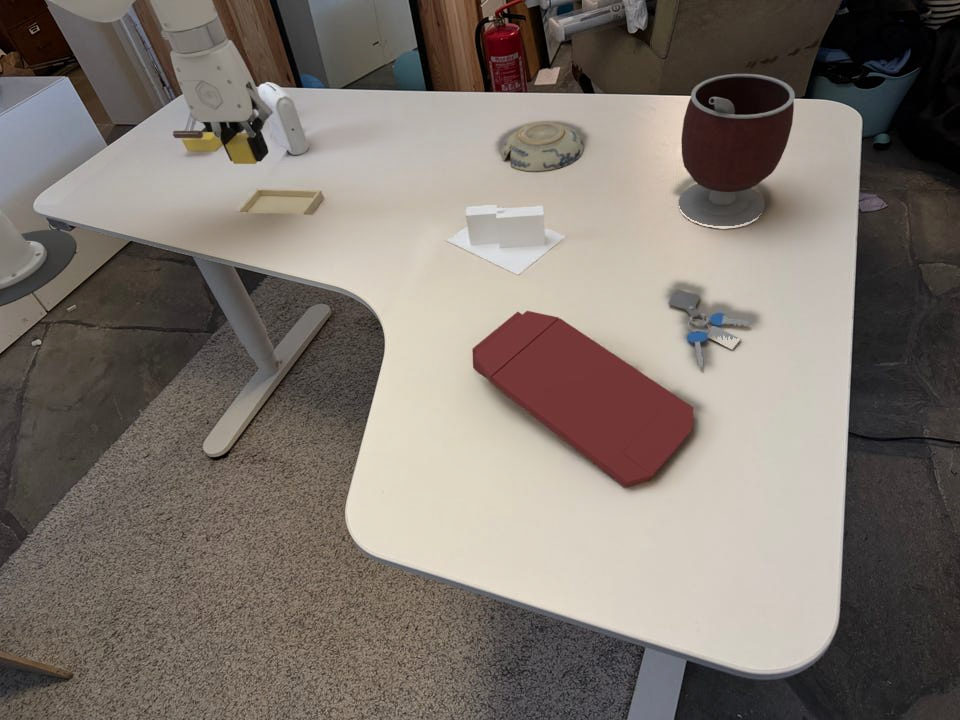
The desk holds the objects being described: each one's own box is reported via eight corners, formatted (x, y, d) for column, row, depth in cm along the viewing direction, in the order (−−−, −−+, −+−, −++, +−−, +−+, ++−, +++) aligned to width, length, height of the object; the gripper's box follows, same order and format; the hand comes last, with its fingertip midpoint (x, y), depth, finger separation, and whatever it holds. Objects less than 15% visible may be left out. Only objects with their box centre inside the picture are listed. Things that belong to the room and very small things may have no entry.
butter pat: (255, 164, 96) (247, 145, 93) (233, 163, 97) (225, 145, 94) (267, 151, 98) (259, 132, 96) (245, 151, 99) (237, 132, 97)
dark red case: (692, 437, 69) (526, 322, 79) (704, 414, 65) (528, 297, 75) (629, 510, 63) (461, 377, 74) (638, 490, 60) (460, 352, 70)
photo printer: (312, 149, 122) (291, 88, 113) (293, 158, 120) (270, 96, 111) (291, 134, 128) (270, 74, 119) (273, 141, 126) (249, 82, 117)
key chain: (662, 294, 80) (663, 289, 79) (724, 284, 80) (725, 279, 79) (698, 371, 70) (699, 366, 70) (768, 360, 70) (770, 355, 70)
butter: (217, 155, 125) (210, 139, 123) (189, 155, 127) (181, 139, 124) (225, 147, 127) (218, 132, 125) (197, 147, 129) (189, 131, 126)
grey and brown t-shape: (203, 141, 121) (195, 134, 119) (178, 141, 123) (170, 134, 121) (220, 80, 125) (213, 72, 122) (196, 81, 126) (188, 73, 124)
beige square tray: (291, 241, 100) (288, 233, 99) (224, 238, 103) (220, 230, 102) (323, 198, 108) (321, 190, 107) (260, 196, 111) (257, 188, 110)
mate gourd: (702, 172, 99) (722, 43, 84) (786, 197, 91) (824, 61, 77) (649, 218, 92) (662, 87, 78) (735, 249, 85) (767, 110, 70)
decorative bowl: (600, 144, 109) (537, 123, 117) (601, 124, 107) (536, 104, 115) (547, 182, 103) (484, 157, 111) (546, 162, 100) (482, 138, 108)
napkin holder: (566, 235, 92) (566, 203, 88) (519, 275, 87) (516, 242, 82) (493, 206, 100) (489, 175, 95) (445, 241, 94) (439, 209, 90)
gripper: (131, 49, 84) (194, 168, 97) (235, 44, 80) (285, 169, 93) (162, 29, 89) (218, 145, 102) (261, 23, 84) (306, 145, 98)
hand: (249, 155), depth 97 cm, fingers closed on butter pat, 4 cm apart
